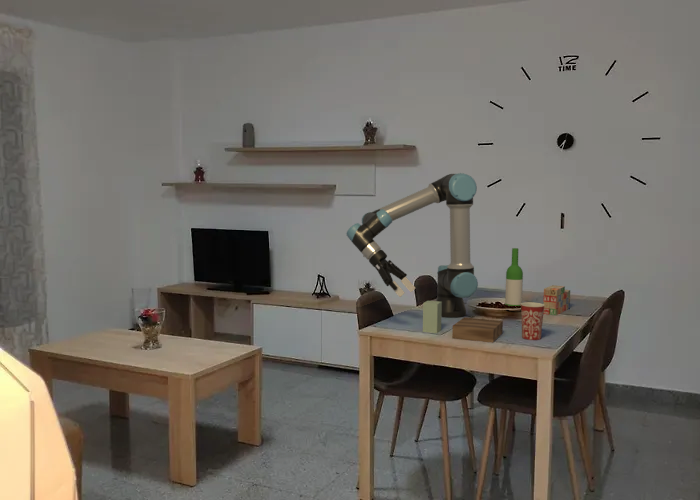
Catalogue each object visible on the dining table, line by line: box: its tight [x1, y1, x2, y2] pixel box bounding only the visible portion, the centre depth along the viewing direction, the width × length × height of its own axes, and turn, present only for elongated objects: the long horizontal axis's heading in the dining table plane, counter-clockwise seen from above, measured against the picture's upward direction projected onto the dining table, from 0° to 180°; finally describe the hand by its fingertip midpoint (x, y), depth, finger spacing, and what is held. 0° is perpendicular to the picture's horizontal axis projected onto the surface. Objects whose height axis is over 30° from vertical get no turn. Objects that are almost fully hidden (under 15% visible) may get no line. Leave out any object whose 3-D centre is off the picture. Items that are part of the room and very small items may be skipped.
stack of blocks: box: [542, 284, 571, 316], centre depth 313 cm, size 21×6×12 cm, turn 145°
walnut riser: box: [451, 316, 504, 344], centre depth 262 cm, size 18×16×5 cm
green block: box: [422, 300, 442, 334], centre depth 269 cm, size 6×6×12 cm
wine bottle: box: [504, 247, 524, 306], centre depth 312 cm, size 8×8×30 cm
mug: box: [520, 301, 545, 341], centre depth 259 cm, size 13×9×14 cm
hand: (408, 292), depth 272 cm, fingers open, 13 cm apart
